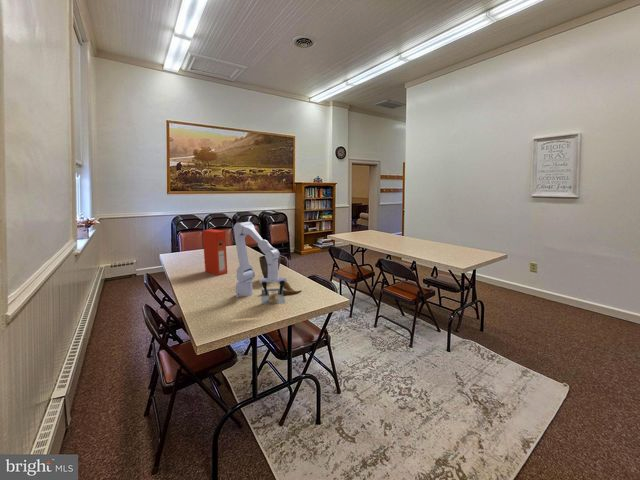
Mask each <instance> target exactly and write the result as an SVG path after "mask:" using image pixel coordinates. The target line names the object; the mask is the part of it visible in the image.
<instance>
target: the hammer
mask: <svg viewBox="0 0 640 480" xmlns="http://www.w3.org/2000/svg"><path fill="white" fill-rule="evenodd" d="M284 283H285V284H284V286H283V287H284V291H283V295H284V296H286V295H289V296H293V295H297V294H299V293H301V292H302V290H294V289H293V288H292V287H291V286H290V284H289V283H288V281H287V280H286V282H284Z"/></svg>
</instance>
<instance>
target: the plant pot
mask: <svg viewBox="0 0 640 480" xmlns="http://www.w3.org/2000/svg"><path fill="white" fill-rule="evenodd" d="M258 259H259V260H258V261H259V266H260V269H261V273H262V275H263V279H264V278H268V264H267V260H266V258H265V255H261V256H259V257H258ZM281 259H282V257H281V256H280V257H279V258H278V271H279V269H280V266H281Z"/></svg>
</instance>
